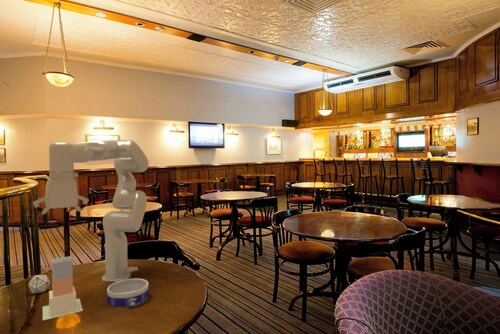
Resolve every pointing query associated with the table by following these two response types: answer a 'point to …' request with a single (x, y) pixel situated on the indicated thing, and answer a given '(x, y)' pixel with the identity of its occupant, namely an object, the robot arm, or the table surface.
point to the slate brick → (62, 267)
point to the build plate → (47, 315)
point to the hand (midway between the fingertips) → (62, 223)
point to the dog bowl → (128, 293)
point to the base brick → (62, 303)
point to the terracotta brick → (62, 286)
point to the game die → (39, 283)
